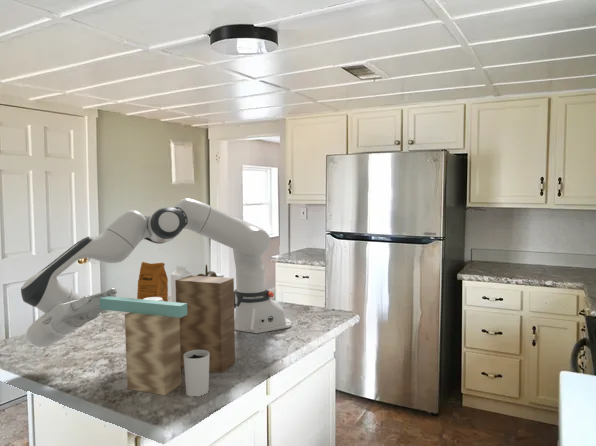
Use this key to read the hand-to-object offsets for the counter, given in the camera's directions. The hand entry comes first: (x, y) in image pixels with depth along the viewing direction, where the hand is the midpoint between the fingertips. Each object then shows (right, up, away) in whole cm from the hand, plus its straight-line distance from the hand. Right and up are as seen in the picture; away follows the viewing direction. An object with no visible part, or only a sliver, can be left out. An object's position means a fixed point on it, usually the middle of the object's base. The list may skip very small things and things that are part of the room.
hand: (101, 294), depth 126 cm
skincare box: (+16, -17, +95) cm, 97 cm away
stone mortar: (+27, -18, +88) cm, 94 cm away
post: (+27, -23, +11) cm, 37 cm away
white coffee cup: (+28, -24, -8) cm, 38 cm away
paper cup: (+3, -21, +37) cm, 43 cm away
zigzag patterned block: (+16, -24, -5) cm, 29 cm away
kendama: (+14, -19, +76) cm, 79 cm away
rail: (+13, -4, -5) cm, 14 cm away
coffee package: (-9, -19, +71) cm, 74 cm away
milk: (+7, -20, +60) cm, 63 cm away
